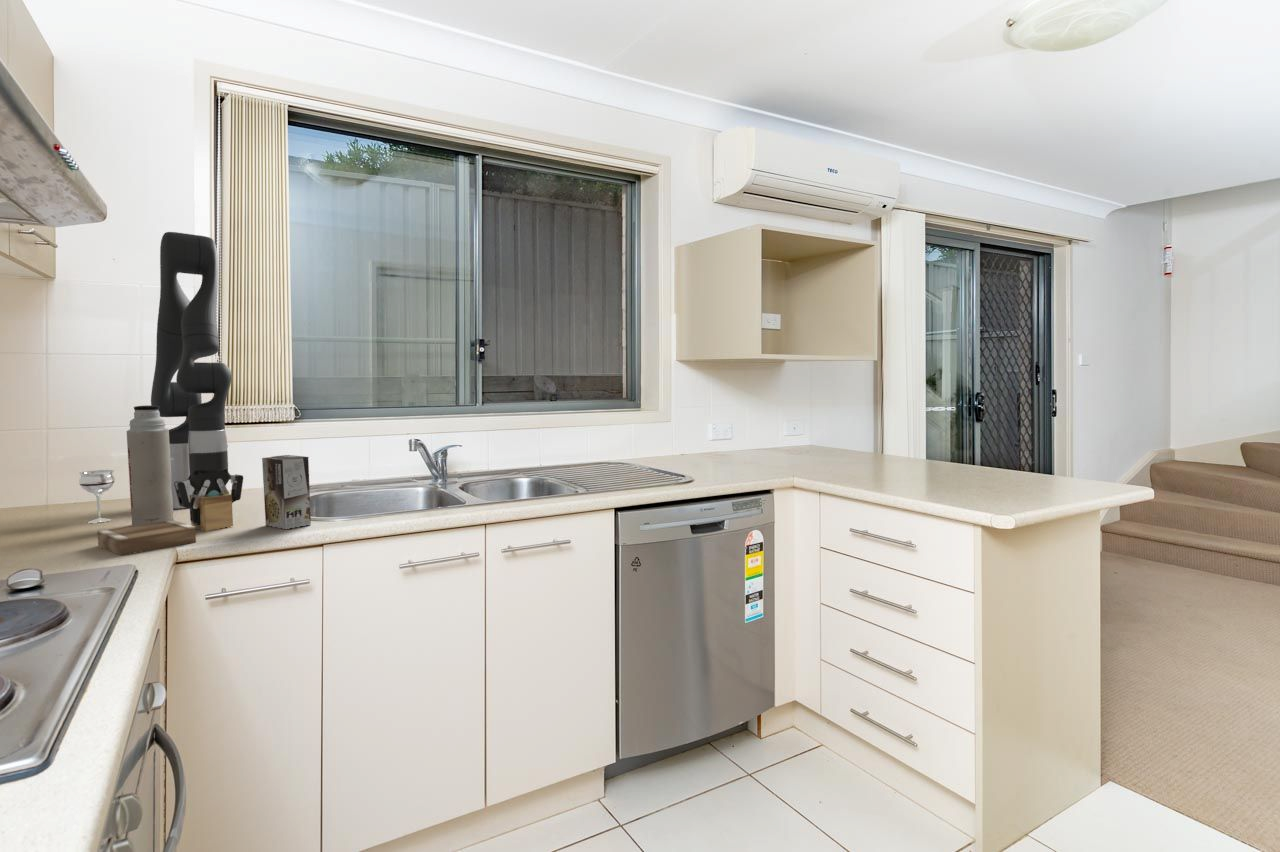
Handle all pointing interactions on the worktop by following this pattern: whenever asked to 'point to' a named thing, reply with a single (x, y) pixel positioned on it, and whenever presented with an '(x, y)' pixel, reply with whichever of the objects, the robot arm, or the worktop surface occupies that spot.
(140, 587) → the worktop surface
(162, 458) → the thermos bottle
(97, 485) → the wineglass
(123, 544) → the dock
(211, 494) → the ball
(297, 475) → the coffee box
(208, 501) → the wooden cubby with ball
